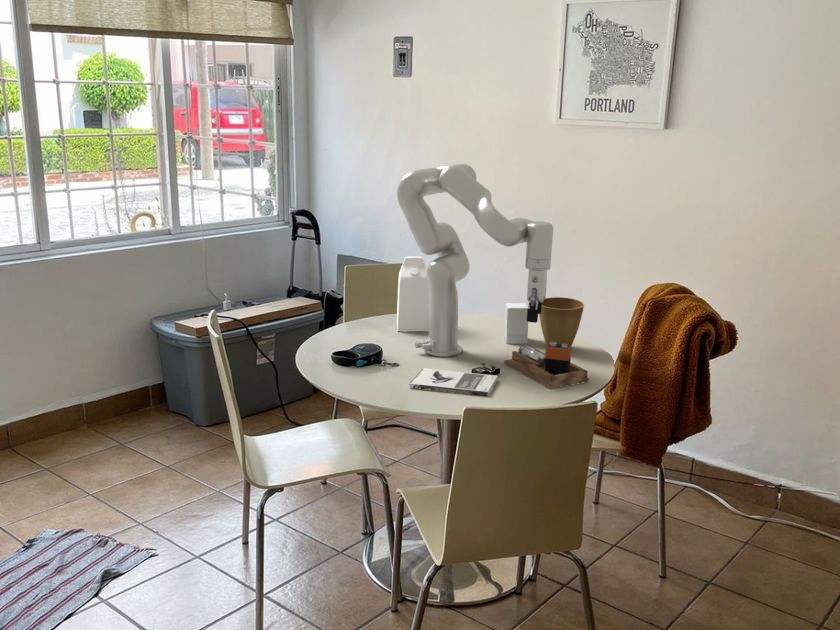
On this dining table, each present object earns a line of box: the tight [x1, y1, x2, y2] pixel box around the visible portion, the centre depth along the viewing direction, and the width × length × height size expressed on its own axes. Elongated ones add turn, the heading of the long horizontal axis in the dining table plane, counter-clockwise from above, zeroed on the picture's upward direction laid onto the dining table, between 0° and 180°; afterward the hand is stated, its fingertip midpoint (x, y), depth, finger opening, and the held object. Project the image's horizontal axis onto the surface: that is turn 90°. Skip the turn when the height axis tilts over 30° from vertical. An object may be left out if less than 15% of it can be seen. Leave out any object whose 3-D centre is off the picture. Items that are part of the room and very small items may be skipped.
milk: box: [396, 256, 429, 332], centre depth 282 cm, size 12×12×26 cm
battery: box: [545, 342, 572, 375], centre depth 231 cm, size 4×7×10 cm, turn 69°
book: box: [408, 367, 498, 397], centre depth 228 cm, size 23×14×2 cm, turn 73°
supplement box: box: [503, 302, 529, 345], centre depth 268 cm, size 7×7×13 cm
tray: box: [503, 347, 590, 390], centre depth 238 cm, size 14×25×4 cm, turn 25°
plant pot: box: [538, 296, 585, 347], centre depth 258 cm, size 15×15×16 cm
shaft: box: [517, 344, 545, 366], centre depth 244 cm, size 4×10×4 cm, turn 25°
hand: (533, 317), depth 240 cm, fingers open, 9 cm apart
